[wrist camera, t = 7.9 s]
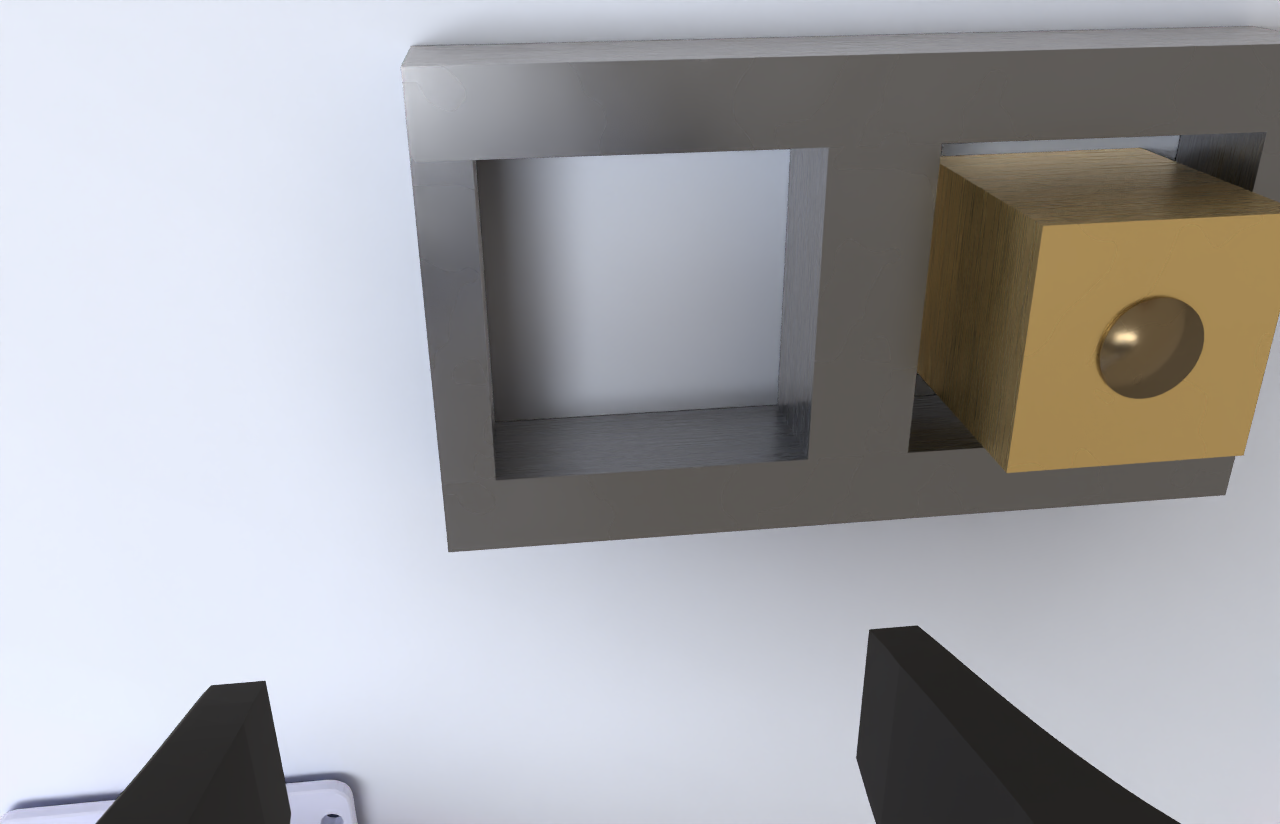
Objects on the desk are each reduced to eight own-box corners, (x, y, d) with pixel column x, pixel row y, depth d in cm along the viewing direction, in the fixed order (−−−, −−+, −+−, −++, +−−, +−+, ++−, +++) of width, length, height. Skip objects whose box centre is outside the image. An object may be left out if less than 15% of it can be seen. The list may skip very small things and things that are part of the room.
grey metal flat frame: (1159, 440, 25) (1225, 494, 23) (452, 488, 23) (448, 552, 21) (1251, 25, 21) (1341, 42, 19) (410, 46, 19) (400, 66, 17)
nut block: (1102, 349, 24) (1246, 457, 19) (908, 361, 23) (1008, 475, 19) (1139, 147, 22) (1308, 213, 17) (928, 156, 22) (1045, 227, 17)
